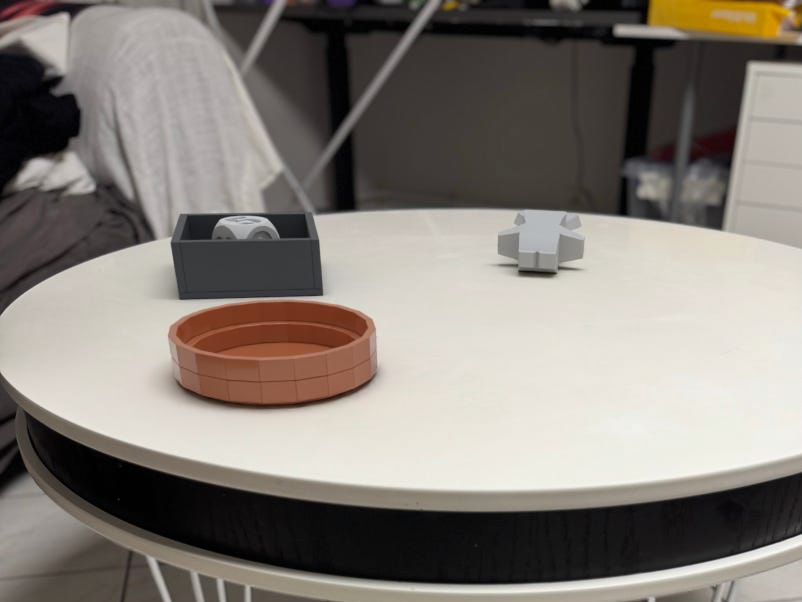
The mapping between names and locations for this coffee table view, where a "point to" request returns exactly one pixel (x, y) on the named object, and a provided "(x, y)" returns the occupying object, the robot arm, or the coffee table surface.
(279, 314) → the bowl
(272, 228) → the die
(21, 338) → the coffee table surface
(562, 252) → the grey angular piece
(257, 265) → the bin
